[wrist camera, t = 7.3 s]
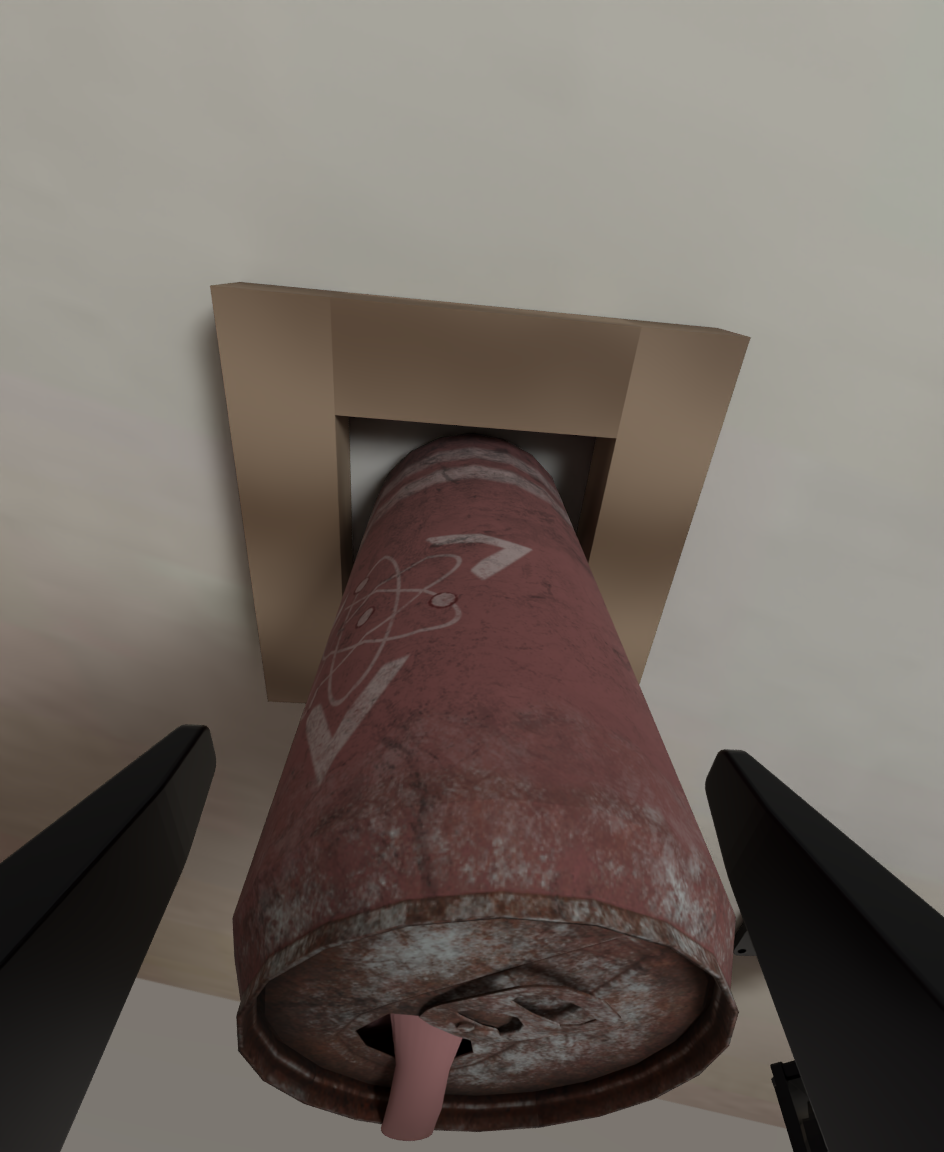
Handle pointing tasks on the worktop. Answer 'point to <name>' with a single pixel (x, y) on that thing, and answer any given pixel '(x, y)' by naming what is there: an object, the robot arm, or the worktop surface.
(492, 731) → the can
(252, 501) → the socket block
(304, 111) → the worktop surface
